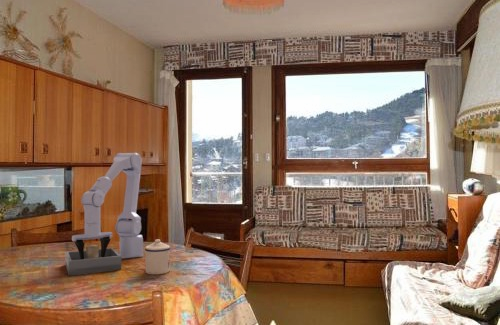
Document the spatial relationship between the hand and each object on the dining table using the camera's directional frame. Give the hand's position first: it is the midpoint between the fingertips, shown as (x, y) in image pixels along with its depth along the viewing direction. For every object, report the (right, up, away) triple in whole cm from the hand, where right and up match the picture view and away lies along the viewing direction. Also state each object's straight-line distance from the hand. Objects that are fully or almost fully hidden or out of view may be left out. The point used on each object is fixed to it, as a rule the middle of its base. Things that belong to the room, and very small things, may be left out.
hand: (92, 258), depth 160 cm
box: (0, -3, 0) cm, 3 cm away
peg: (0, -3, 0) cm, 3 cm away
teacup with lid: (+26, -4, -6) cm, 26 cm away
